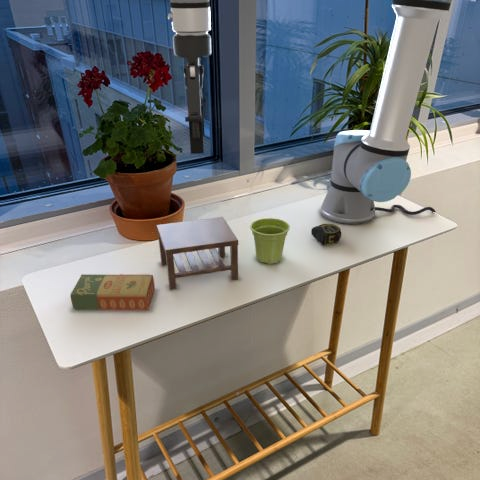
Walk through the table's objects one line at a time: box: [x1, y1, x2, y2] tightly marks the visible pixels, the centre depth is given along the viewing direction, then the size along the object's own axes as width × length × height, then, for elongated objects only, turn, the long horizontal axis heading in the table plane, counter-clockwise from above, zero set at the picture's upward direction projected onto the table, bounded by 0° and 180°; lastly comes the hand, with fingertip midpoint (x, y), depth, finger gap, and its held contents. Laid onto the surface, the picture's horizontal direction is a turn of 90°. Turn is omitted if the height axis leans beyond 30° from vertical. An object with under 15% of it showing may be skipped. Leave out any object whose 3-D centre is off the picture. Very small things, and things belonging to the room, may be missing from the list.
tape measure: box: [310, 223, 342, 247], centre depth 126 cm, size 7×7×4 cm
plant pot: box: [249, 217, 291, 265], centre depth 117 cm, size 9×9×9 cm
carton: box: [70, 274, 156, 311], centre depth 104 cm, size 8×16×4 cm, turn 89°
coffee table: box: [156, 216, 239, 291], centre depth 112 cm, size 16×13×10 cm
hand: (198, 143), depth 108 cm, fingers open, 13 cm apart
